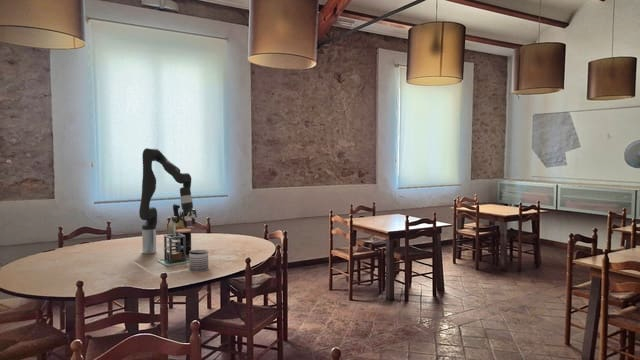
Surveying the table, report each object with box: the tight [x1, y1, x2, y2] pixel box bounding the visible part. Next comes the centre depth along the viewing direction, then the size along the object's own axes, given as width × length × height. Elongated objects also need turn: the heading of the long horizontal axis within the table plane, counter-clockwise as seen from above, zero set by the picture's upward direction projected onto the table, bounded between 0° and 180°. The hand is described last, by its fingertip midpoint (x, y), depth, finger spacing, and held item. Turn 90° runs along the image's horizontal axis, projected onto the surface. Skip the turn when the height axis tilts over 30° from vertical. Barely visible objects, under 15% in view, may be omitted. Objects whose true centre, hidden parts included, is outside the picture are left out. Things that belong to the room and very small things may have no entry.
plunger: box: [171, 215, 180, 244], centre depth 283 cm, size 7×7×16 cm
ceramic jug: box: [167, 203, 188, 240], centre depth 355 cm, size 17×15×30 cm
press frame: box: [163, 233, 187, 264], centre depth 284 cm, size 11×11×17 cm
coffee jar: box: [174, 228, 192, 257], centre depth 304 cm, size 11×11×18 cm
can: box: [188, 249, 209, 273], centre depth 270 cm, size 11×11×12 cm
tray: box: [156, 256, 190, 267], centre depth 285 cm, size 16×18×2 cm
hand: (189, 225), depth 297 cm, fingers open, 8 cm apart
